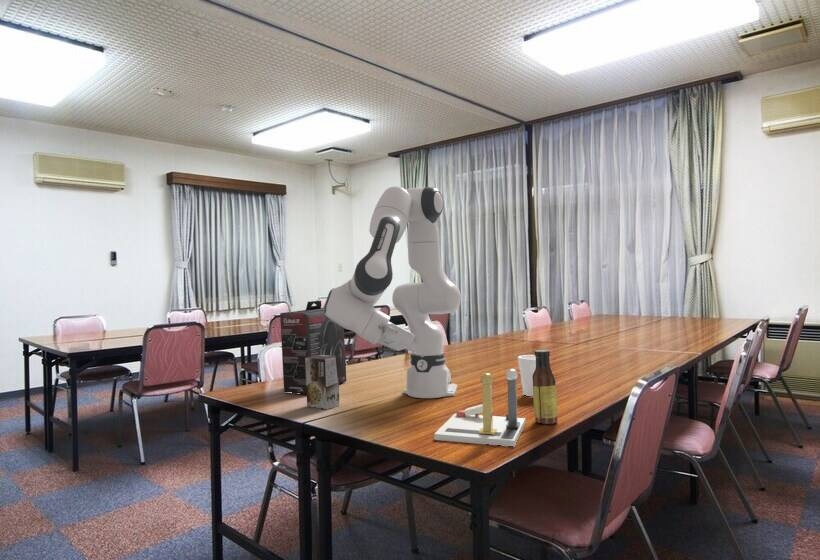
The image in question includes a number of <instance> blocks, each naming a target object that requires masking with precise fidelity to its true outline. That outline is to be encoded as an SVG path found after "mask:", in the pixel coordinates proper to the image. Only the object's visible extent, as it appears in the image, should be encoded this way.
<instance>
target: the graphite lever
mask: <svg viewBox="0 0 820 560" xmlns="http://www.w3.org/2000/svg"><path fill="white" fill-rule="evenodd" d="M505 378H506V379H507V410H508V411H507V414H508V423H507V425H506V428H517V429H518V427H519V425H520V422H517V418H518V395H517V394H518V389H517V385H518V384H517V381H518V380H517V379H518V378H519V373H518V371H517V370H516V369H514V368H509V369H507V371H506V372H505Z"/></svg>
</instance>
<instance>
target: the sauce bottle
mask: <svg viewBox="0 0 820 560" xmlns="http://www.w3.org/2000/svg"><path fill="white" fill-rule="evenodd" d="M550 352H551V351H550V350H548V349H536V350H534V355H535V357H536V369H535V371H534V373H533V376H532V377H533V413H534V419H535V422H536V423H537V422H538V423H537V424H540V423H542V424H541V425H546V424H547V425H548V424H549V425H554V423H555V424H557V423H558V416H559V415H558V413H559V412H558V401H557V386H556V385H557V384H556V379H555V376H554V374H553V372H552V371H553V370H552V368H551V364H550V355H551V353H550Z"/></svg>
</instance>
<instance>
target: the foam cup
mask: <svg viewBox="0 0 820 560" xmlns="http://www.w3.org/2000/svg"><path fill="white" fill-rule="evenodd" d="M517 362H518V368H519V374H520V381H521V387H522V394H523V396H524V395H526V396H533V377H532V376H533V373H534V371H535V369H536V357H535V354H524V355H519V356H517ZM526 396H525V397H526Z"/></svg>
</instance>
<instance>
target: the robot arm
mask: <svg viewBox="0 0 820 560" xmlns="http://www.w3.org/2000/svg"><path fill="white" fill-rule="evenodd" d="M441 193H442V192H441V191H439V189H438V188H436V187H431V186H426V187H409V188H407V189H405V188H403V187H400V186H390V187H387V188H386V189H385V190H384V191H383V193H382V194H381V196H380V197H379V199H378V201H377V203H376V205H375V206H374V209H373V213H372V216H371V218H370V223H369V230H368V231H369V234H370V236H371V237H372V238H373V240H372V242H371V245H370V249H369V251H368V252H367V254H366V255H365V256H364V257H362V258H361V259H360V260H359V262H358V263H357V265H356V267H355V269H354V273H353V275H352V277H351V279H349V280H348V281H347V282H345V283H344V284H342V285H340V286H337V287H335V288H332V289H330V291H329V292H328V295H327V297H326V299H325V303H324V306H323V308H324V313H325V315H326V316H327V317H328V318H329V319H331V320H332V321H334V322H335V323H337V324H338V325H340V326H342V327H343V328H344V330H345V329H346V330H349V331H352V332H354V333H355V334H356V335H357V336H358V337H360V338H362V339H364V340H365V341H367V342H369V343H371V345H372V344H373V345H375V346H376V345H377V344H381V345H382V346H385V347H387V348H388V349H389V348H390V349H391V350H394V351H399V352H400V351H402V350H407V351H409V352H411V353H410V357H409V360H410V367H409V368H408V369H407V371H406V388H404V389H402V393H403V394H406V395H408V396H409V397H412V398H418V399H419V398H420V399H436V398H442V397H453V396H456V391H457V389H458V384H457V383H453V382H452V379H451V378H452V377H451V376H452V374H451V371H450V369H449V368H448V366H447V365H446V356H447V355H446V351H445V352H444V339H443V336H444V334H443V331H442V329H441V328H440V327H439V326H438V325H436V324H435V323H433V321H432V320H431V319H430V316H429V315H445V314H450V313H454V312H456V311H457V310H458V309H459V308H460V305H461V304H462V303H461V301H462V295H461V291H460V289H459V287H458V286H457V285H456V284H455V283H453V282H452V281H451V280H450V278H448V276H447V274H446V273H445V271H444V268H443V266H442V264H443V263H442V260H441V259H442V258H441V250H440V233H439V227H438V222H437V220H438V219H439V218H440V216H441V214H442V213H443V210H444V198H443V195H442V194H441ZM407 225H408V226H407ZM406 228H407V254H408V255H407V256H408V257H407V258H408V264H409V265H408V266H409V267H410V268H411V269H412V270H413V271H415V272H416V273H418V274H419V275H420V277H421V280H422V282H409V283H403V284H400V285H397V286H396V287H395V289H394V290H393V292H392V296H391V298H392V305H393V306H394V309H395V310H397V311H398V312H399V313H400V314H401V315H402V317H403V318H404V319H405V322H406V323H407V325H408V330H407V329H405V328H403V327H401V326H399V325H396V324H394V323H393V322H391V321H390V320H391V316H390V315H388V314H386V313H385V312H383V311H381V310H379V309H377V308H375V305H376V304H377V303H378V301H379V300H380V299H381V297H382V296H383V294H384V293H385V291H386V289H388V287H389V286H390V284H392V281H393V275H394V274H393V267H392V256H393V253H394V250H395V246H396V244H397V243H399V241H400V240H401V238H403V235H404V233H405V232H406Z"/></svg>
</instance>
